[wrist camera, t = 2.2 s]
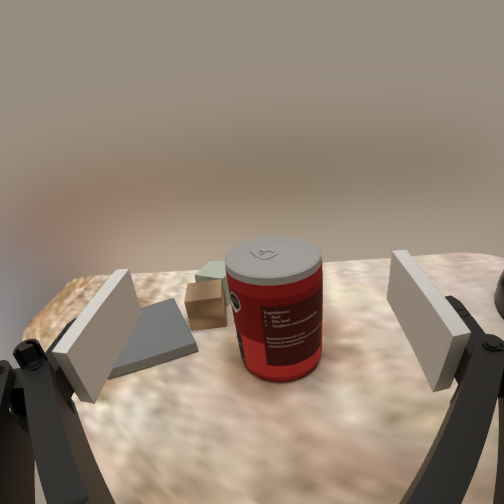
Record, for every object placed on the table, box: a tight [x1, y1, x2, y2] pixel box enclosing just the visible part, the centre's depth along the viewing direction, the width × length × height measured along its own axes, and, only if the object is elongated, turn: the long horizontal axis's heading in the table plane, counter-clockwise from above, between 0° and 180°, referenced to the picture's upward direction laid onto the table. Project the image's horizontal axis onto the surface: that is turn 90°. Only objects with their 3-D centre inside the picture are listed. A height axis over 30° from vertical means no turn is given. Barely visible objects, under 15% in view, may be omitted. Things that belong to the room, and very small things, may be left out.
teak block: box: [184, 279, 227, 331], centre depth 37 cm, size 4×4×4 cm
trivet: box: [108, 298, 198, 379], centre depth 34 cm, size 10×10×1 cm
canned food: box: [225, 236, 323, 381], centre depth 28 cm, size 8×8×11 cm
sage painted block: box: [195, 260, 231, 306], centre depth 41 cm, size 4×4×4 cm
